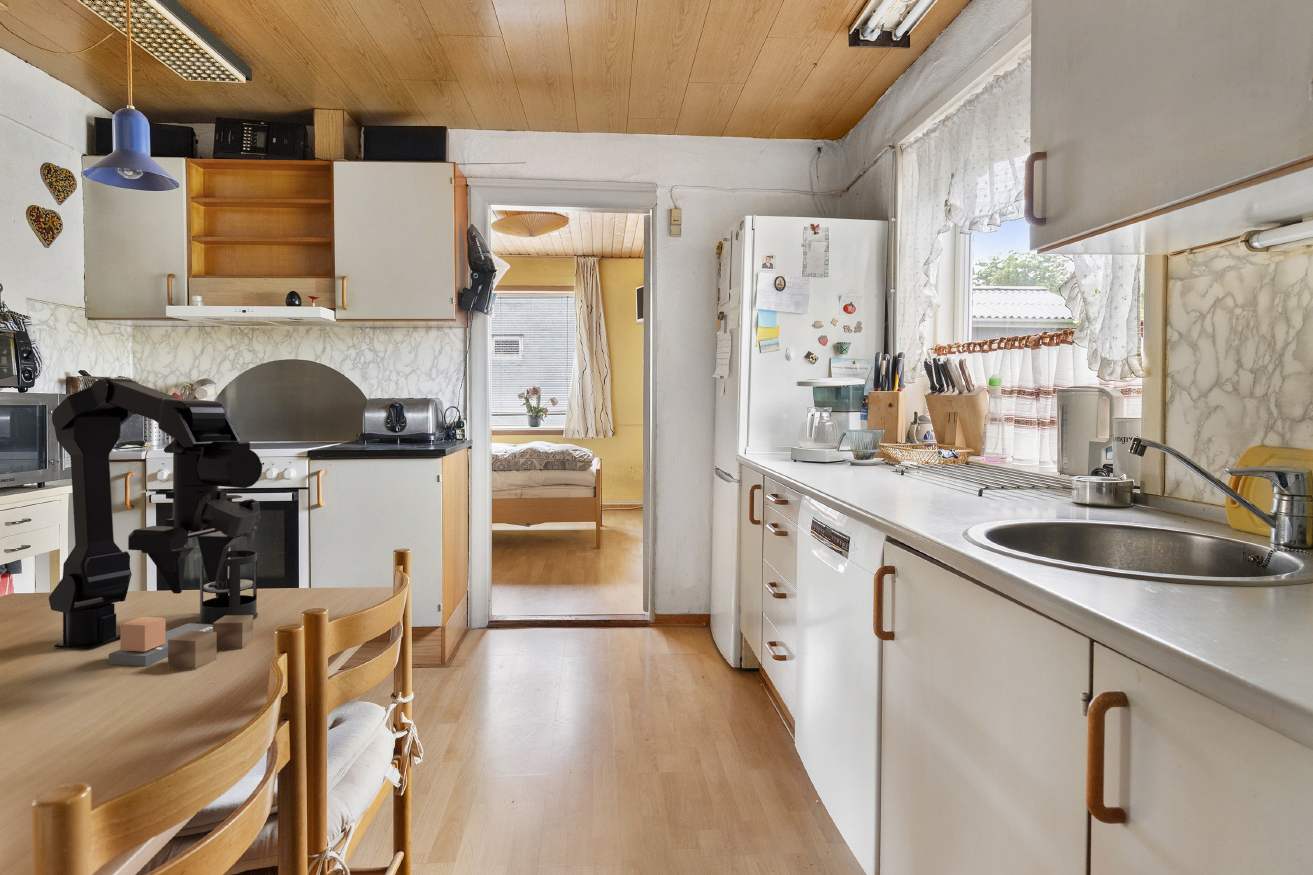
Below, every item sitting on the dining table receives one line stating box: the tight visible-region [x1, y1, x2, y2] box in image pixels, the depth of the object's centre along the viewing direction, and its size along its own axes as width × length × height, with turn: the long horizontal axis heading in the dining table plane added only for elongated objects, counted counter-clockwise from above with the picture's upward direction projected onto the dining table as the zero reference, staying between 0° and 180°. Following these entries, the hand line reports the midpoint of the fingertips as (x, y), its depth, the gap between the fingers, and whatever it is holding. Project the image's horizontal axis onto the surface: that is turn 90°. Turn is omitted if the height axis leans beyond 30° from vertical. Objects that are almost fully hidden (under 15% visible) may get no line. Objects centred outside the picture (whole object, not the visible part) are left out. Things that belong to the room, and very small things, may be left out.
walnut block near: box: [167, 631, 218, 671], centre depth 108 cm, size 4×4×4 cm
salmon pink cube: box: [119, 616, 167, 652], centre depth 110 cm, size 4×4×4 cm
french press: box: [198, 494, 259, 625], centre depth 131 cm, size 12×9×23 cm
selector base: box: [108, 622, 213, 667], centre depth 115 cm, size 6×16×2 cm, turn 175°
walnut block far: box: [213, 615, 254, 651], centre depth 117 cm, size 4×4×4 cm
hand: (195, 587), depth 107 cm, fingers open, 7 cm apart
